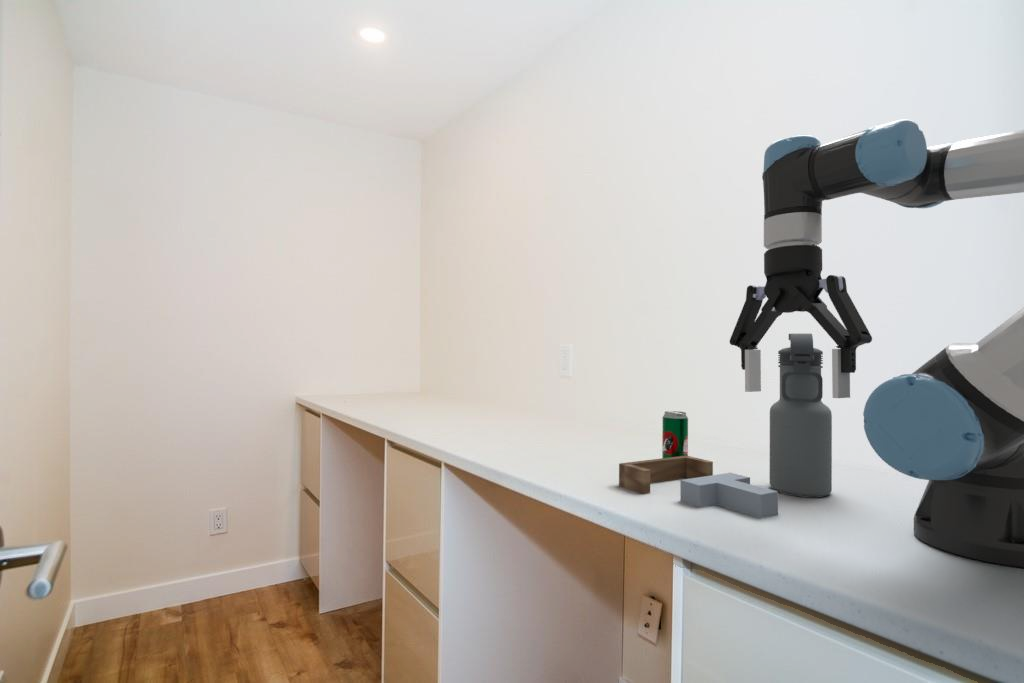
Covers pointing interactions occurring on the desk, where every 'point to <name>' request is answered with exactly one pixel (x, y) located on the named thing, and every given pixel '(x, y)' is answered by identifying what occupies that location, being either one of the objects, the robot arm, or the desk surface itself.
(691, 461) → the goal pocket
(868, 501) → the desk surface
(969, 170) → the robot arm
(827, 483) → the water bottle
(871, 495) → the desk surface
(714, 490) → the t block
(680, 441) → the soda can
